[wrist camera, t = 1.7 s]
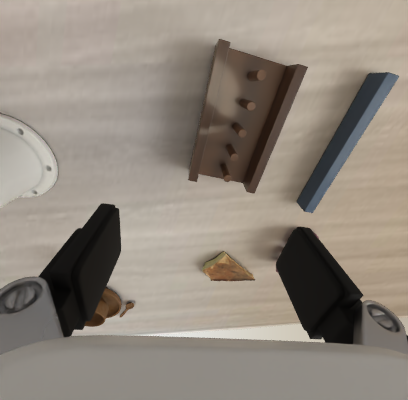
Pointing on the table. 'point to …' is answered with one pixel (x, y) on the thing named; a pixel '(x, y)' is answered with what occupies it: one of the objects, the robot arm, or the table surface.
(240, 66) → the rack
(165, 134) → the table surface
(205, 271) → the golden brown flat wedge
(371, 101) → the bar
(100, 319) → the place setting
